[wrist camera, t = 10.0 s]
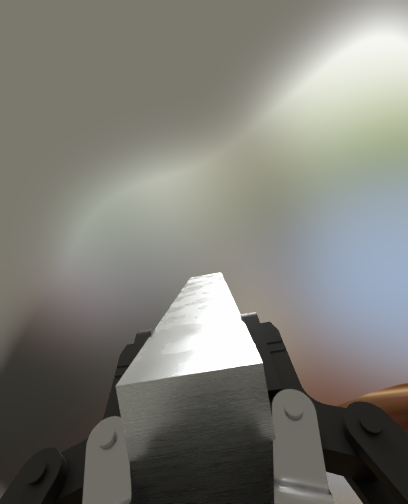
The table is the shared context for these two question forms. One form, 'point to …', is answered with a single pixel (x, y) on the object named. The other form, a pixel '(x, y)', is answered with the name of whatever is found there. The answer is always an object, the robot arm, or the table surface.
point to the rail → (199, 405)
